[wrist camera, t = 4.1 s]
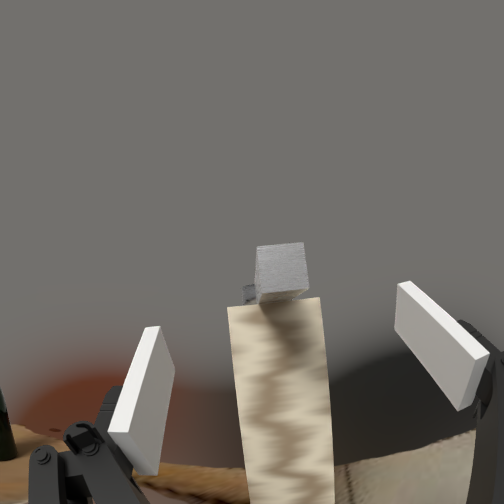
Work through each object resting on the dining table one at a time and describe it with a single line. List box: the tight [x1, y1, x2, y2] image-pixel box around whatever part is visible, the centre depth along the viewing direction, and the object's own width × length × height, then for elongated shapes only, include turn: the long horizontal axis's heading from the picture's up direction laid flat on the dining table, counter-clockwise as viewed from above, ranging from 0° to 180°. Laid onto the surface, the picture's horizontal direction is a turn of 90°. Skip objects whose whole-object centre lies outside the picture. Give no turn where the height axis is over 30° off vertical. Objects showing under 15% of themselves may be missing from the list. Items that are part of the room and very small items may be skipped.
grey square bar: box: [241, 242, 309, 306], centre depth 33 cm, size 6×25×5 cm, turn 0°
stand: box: [227, 297, 335, 504], centre depth 35 cm, size 9×16×34 cm, turn 0°
